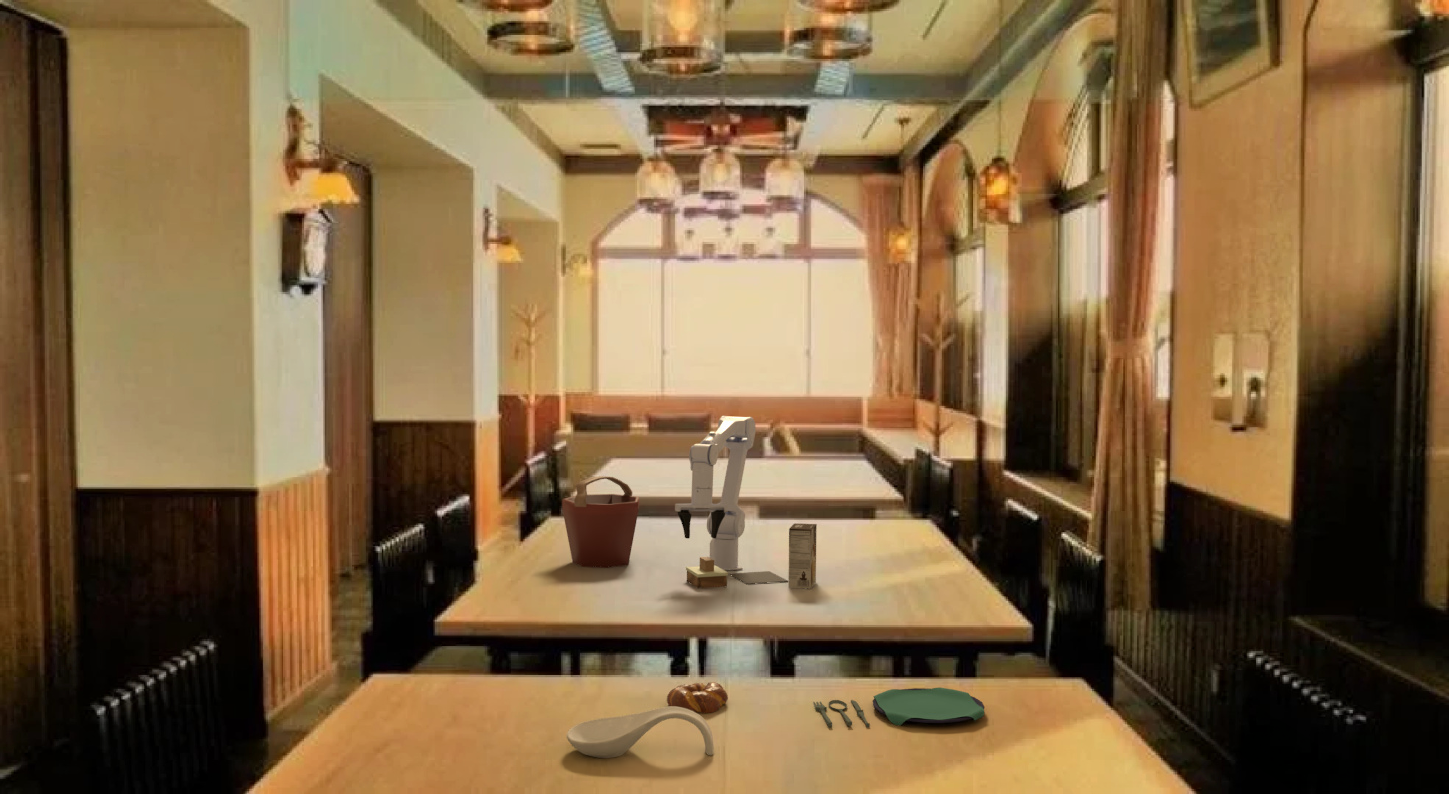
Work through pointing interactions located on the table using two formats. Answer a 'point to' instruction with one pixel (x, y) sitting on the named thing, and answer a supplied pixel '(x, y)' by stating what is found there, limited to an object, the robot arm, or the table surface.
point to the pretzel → (698, 697)
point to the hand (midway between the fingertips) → (700, 538)
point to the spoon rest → (629, 731)
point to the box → (707, 581)
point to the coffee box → (802, 555)
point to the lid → (706, 569)
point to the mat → (758, 577)
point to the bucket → (600, 525)
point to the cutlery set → (917, 706)
